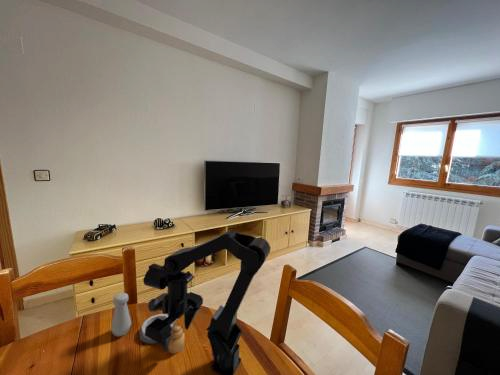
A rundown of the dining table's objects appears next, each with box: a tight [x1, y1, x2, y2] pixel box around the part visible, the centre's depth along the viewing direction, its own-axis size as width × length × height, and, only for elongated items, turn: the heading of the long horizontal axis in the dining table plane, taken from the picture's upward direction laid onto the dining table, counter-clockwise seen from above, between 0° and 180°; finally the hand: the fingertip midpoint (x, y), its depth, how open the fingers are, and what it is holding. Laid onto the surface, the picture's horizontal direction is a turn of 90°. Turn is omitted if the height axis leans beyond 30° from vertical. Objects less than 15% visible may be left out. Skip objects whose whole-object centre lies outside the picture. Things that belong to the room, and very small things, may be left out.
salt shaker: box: [110, 292, 132, 338], centre depth 70 cm, size 6×6×13 cm
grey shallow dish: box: [139, 313, 176, 345], centre depth 72 cm, size 11×11×2 cm
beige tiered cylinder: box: [167, 323, 185, 355], centre depth 66 cm, size 5×5×7 cm
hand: (176, 339), depth 66 cm, fingers open, 9 cm apart
